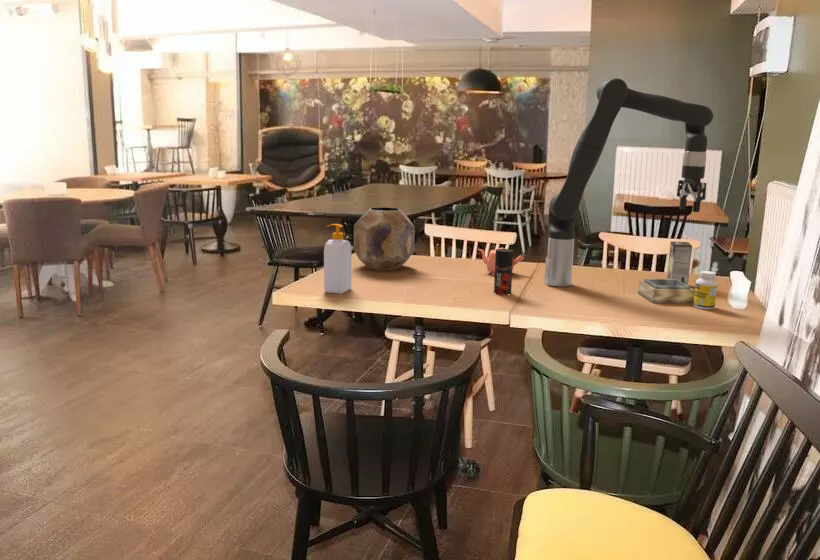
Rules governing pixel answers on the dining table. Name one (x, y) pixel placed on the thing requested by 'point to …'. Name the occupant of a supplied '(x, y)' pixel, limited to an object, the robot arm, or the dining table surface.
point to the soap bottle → (337, 263)
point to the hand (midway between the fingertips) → (689, 210)
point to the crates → (666, 291)
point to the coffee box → (679, 261)
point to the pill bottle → (705, 290)
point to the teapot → (491, 260)
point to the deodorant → (503, 271)
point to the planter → (384, 238)
